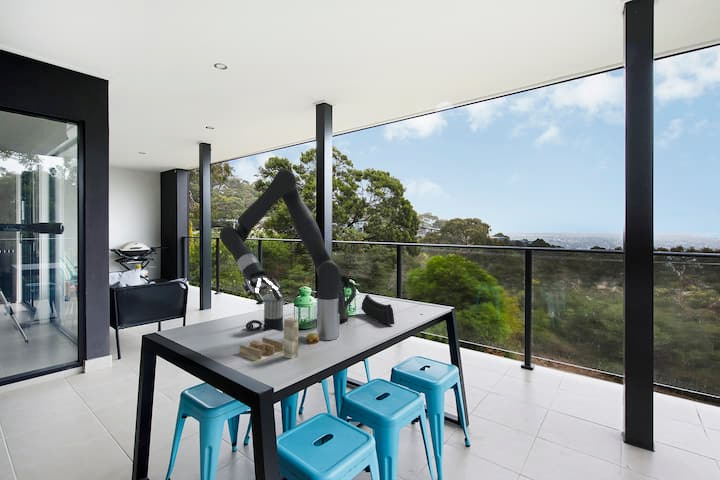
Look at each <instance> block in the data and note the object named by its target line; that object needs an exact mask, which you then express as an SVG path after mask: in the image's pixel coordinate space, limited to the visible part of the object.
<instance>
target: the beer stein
mask: <svg viewBox="0 0 720 480" xmlns="http://www.w3.org/2000/svg"><path fill="white" fill-rule="evenodd" d="M345 288H350V291H351V293H350V296H349V297H348V298H347V299H346V292H345ZM356 295H357V286H356V284H355V283H354V282H353V281H350V277H349V276H347V275H343V274H341V273H340V289H339V299H338V314H339V315H340V319H339V325H343V323H344V324H346V323H347V322H348V321H349V311H348V308H347V307H348V306H349V305H350V304H351V303H352V302H353V300H354V299H355V297H356ZM345 322H346V323H345Z"/></svg>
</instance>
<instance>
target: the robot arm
mask: <svg viewBox="0 0 720 480" xmlns="http://www.w3.org/2000/svg"><path fill="white" fill-rule="evenodd" d="M297 182H298V180H297V177H296V175H295V173H294V172H292V171H291V170H288V169H283V170H279V171H278V172H277V173H276V174H275V176H274V178H273V179H272V181H271V182H270V184H269V185H268V187H267V188H266V189H265V190H264V192H263V193H262V194H260V196H258V198H257V199H256V200H255V201H254V202H252V204H251V205H249V207H247V208H246V210H245V211H244V212H242V214H241V215H240V216H239V217H238V218H237V223H238V226H237V228H234V227H232V226H225V227H223V228H222V229H221V230H220V233H219V239H220V241H221V244H223V246H224V247H225V249H227V251H228V252H229V253H230V254H231V256H232V257H233V259H234V261H235V263H236V264H237V267H238V269H239V271H240V272H241V274H242V276H243V278H244V281H243V282H242V284H241V286H242V287H243V289H244V291H245V293H246V294H247V296H248V297H251V296H252V297H253V298H254V300H256V303H258V304H259V305H262V304H264V298H263V296H262V295H261V293H260V292H259V291H262V290H265V291H268V292H271V293H272V294H273V297H275V298H276V300H277V301H279V300H280V299H281V297H282V294H281V293H280V291H279V290H280V288H281V285H280V283H279V282H278V280H277V279H276V278H275V276H273V275H271V276H270V277H267V276H266V270H264V268H263V266H262V264H261V263H260V262H259V260H258V259H257V257H256V256H255V255H254V253H253V252H252V250H251V249H250V247H249V246H248V245H247V244H246V240H248V237H249V235H250V234H251V232H252V230H253V229H254V228H255V227H256V226H257V225H258V224H259V223H260V222H261V221H262V219H264V217H265V216H266V214H268V212H269V211H270V210H271V209H272V207H273V206H274V205H275V204H276V203H277V202H278V201H280V199H282V201H283V203H284V204H285V206H286V208H287V211H288V213H289V218H290V219H291V223H293V227H294V229H295V231H296V234H297V236H298V237H299V239H300V241H301V242H302V244H303V246H304V247H305V249H306V250H307V252H308V254H309V256H310V257H311V260H312V263H313V264H314V268H315V271H316V275H317V292H316V293H317V294H316V296H317V297H316V304H317V305H316V334H317V335H318V337H319V341H320V340H321V341H333V340H336V339H338V338H339V336H340V324H339V319H340V315H339V314H338V299H339V289H340V274H341V272H340V270H341V269H340V268H339V265H337V263H335V262H334V260H333V259H332V258H331V256H330V254H329V253H328V252H329V251H327V249H326V246H325V243H324V239H323V236H322V233H321V229H320V227H319V226H318V225H319V224H318V223H317V221H316V219H315V217H314V216H313V214H312V212H311V211H310V209H309V207H308V206H307V205H306V203H305V202H304V201H303V199H302V198H303V197H302V196H301V194H300V192H299V191H300V190H299V189H298V186H297Z"/></svg>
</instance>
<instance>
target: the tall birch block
mask: <svg viewBox="0 0 720 480" xmlns="http://www.w3.org/2000/svg"><path fill="white" fill-rule="evenodd" d="M283 328H284V329H283V343H284V352H283V357H284V358H287V359H291V360H294V359H295V358H298V357H299V318H294V317H288V318H285V319H284V318H283Z"/></svg>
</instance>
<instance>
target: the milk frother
mask: <svg viewBox="0 0 720 480" xmlns="http://www.w3.org/2000/svg"><path fill="white" fill-rule="evenodd" d="M263 299H264V302H263V305H264V307H263V308H264V309H263V315H264V316H263V320H264V321H263V322H261V321H259V320H257V319H253V320H250V321H248V322H246V324H245V328H246V330H248V331H253V332H254V331H258V330H260V329H261V328H262V326H263V329H262V330H263V332H267V331H270V330H275V331H278V332H282V331H284V299H285V298H284V297H283V296H281V299H280V300H279V301H277V300H276V298H275V296H270V297H269V296H267V297H264V298H263ZM253 324H257V325H258V326H257V327H254V325H253Z"/></svg>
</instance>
